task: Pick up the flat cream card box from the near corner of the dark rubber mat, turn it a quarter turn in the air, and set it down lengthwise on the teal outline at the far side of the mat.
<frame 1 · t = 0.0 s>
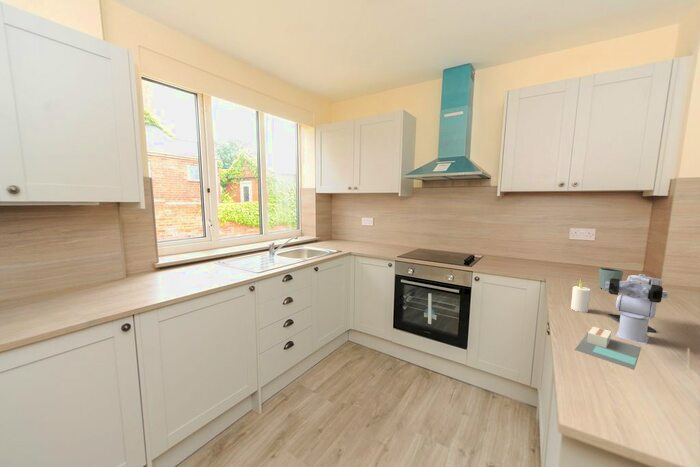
hand: (631, 292, 87), 22 cm above the countertop, tool horizontal, fingers open, 7 cm apart
green pot: (608, 289, 159), on the countertop
card box: (598, 341, 98), point 1 cm above the countertop, touching mat
candle: (579, 310, 128), on the countertop
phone: (630, 324, 114), on the countertop
mat: (607, 350, 93), on the countertop
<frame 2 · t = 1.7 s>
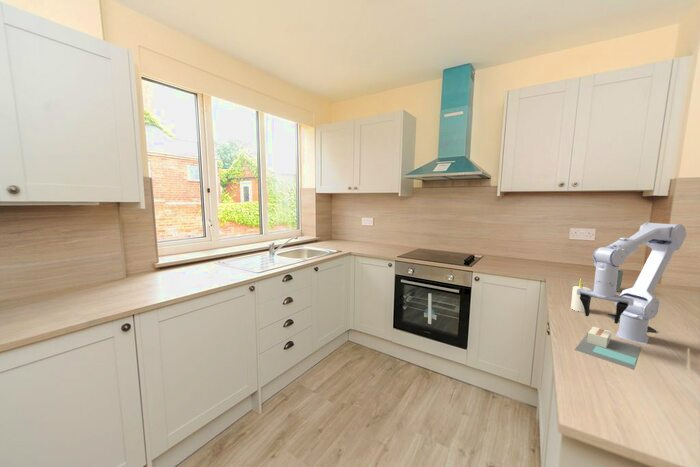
hand: (601, 319, 97), 9 cm above the countertop, tool pointing down, fingers open, 7 cm apart
nothing on the countertop moved.
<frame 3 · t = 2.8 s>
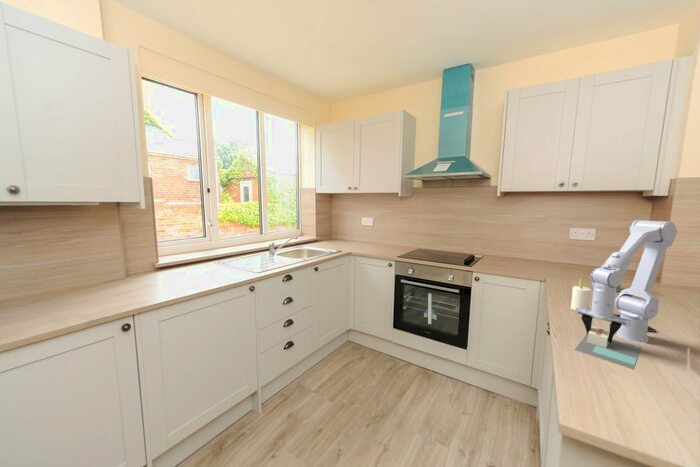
hand: (599, 338, 97), 2 cm above the countertop, tool pointing down, fingers closed on card box, 5 cm apart
card box: (598, 341, 98), point 1 cm above the countertop, touching gripper, mat
everything else where it was.
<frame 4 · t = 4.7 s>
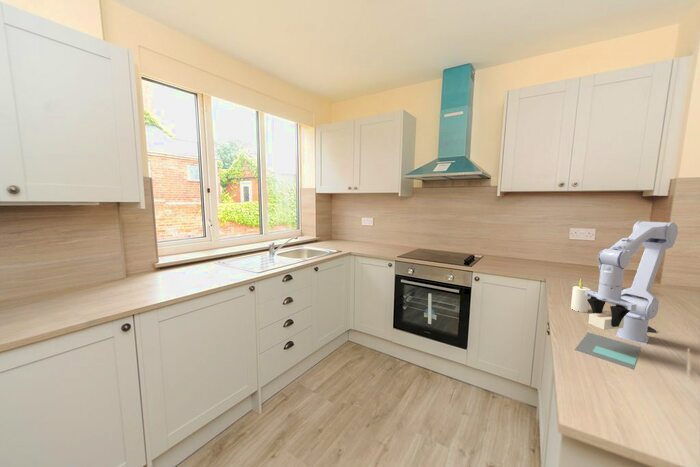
hand: (605, 322, 94), 9 cm above the countertop, tool pointing down, fingers closed on card box, 5 cm apart
card box: (605, 325, 94), point 8 cm above the countertop, touching gripper
everything else where it was.
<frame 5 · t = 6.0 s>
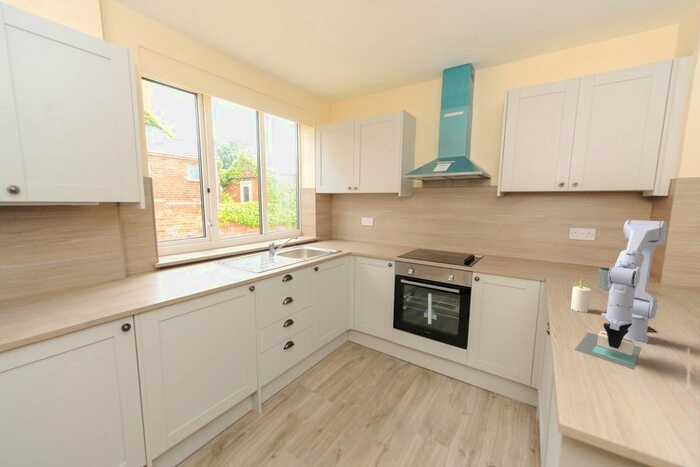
hand: (615, 344, 88), 4 cm above the countertop, tool pointing down, fingers closed on card box, 5 cm apart
card box: (614, 347, 88), point 3 cm above the countertop, touching gripper
everything else where it was.
when the fingers open (3 cm above the countertop, at t = 6.7 s): card box drops 1 cm, resting on mat.
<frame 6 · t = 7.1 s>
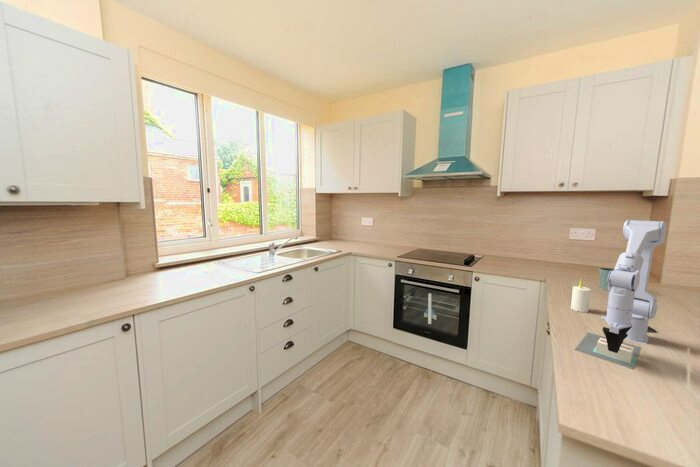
hand: (615, 347, 88), 3 cm above the countertop, tool pointing down, fingers open, 7 cm apart
card box: (613, 354, 89), point 1 cm above the countertop, touching mat
everything else where it was.
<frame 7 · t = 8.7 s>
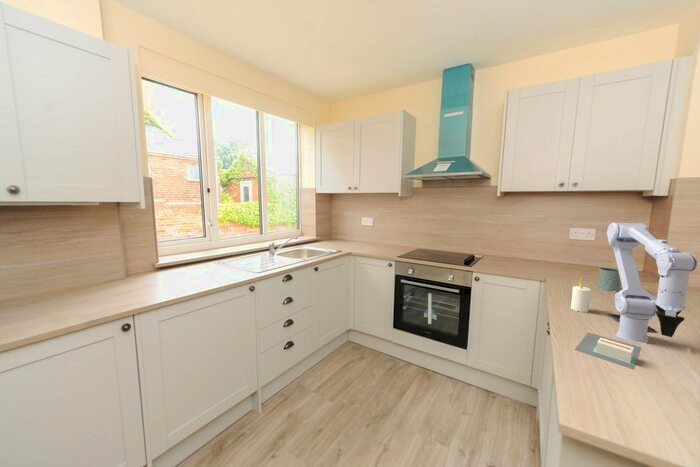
hand: (666, 331, 86), 9 cm above the countertop, tool pointing down, fingers open, 7 cm apart
nothing on the countertop moved.
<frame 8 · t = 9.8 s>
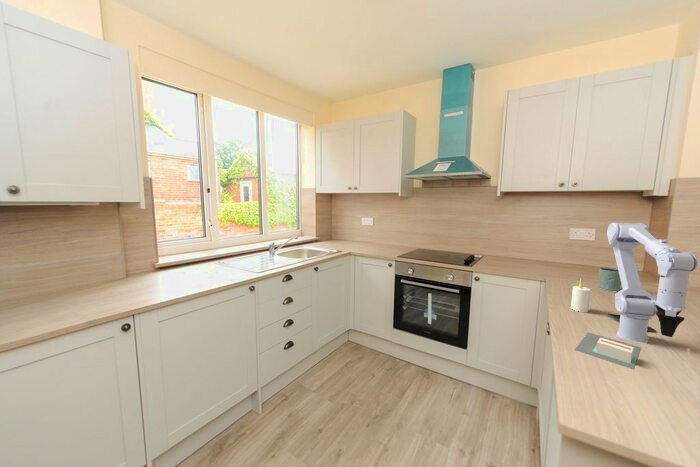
hand: (666, 331, 86), 9 cm above the countertop, tool pointing down, fingers open, 7 cm apart
nothing on the countertop moved.
at the end: card box 0.1 cm from the target spot on the mat, point 0.7 cm above the mat's base; card box tilted 0°; the gripper is holding nothing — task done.
